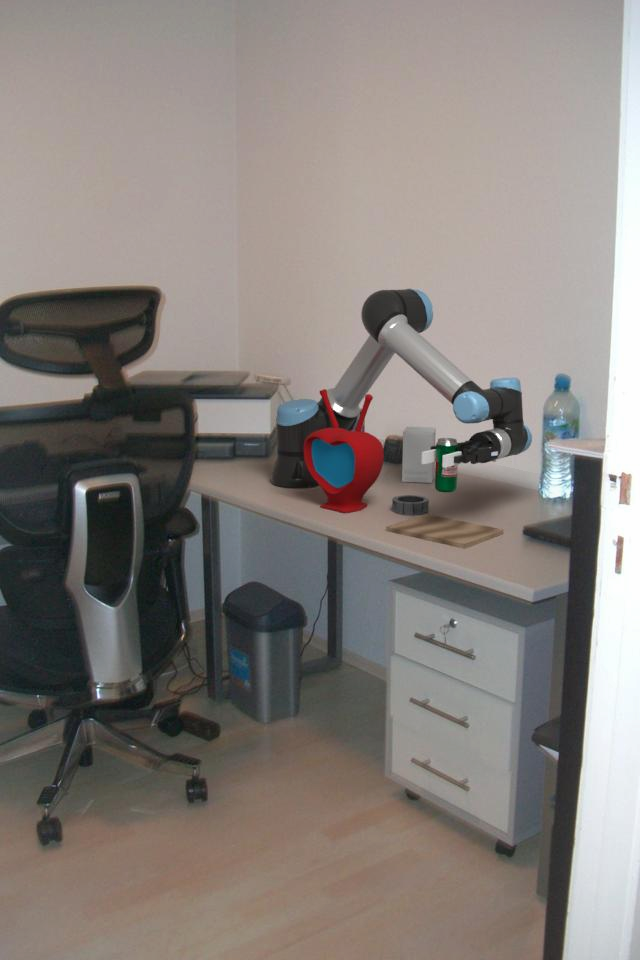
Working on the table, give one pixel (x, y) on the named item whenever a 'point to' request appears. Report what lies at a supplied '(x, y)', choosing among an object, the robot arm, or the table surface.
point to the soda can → (448, 475)
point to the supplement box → (417, 454)
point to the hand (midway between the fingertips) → (433, 459)
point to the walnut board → (445, 530)
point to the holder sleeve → (410, 505)
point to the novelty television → (344, 461)
